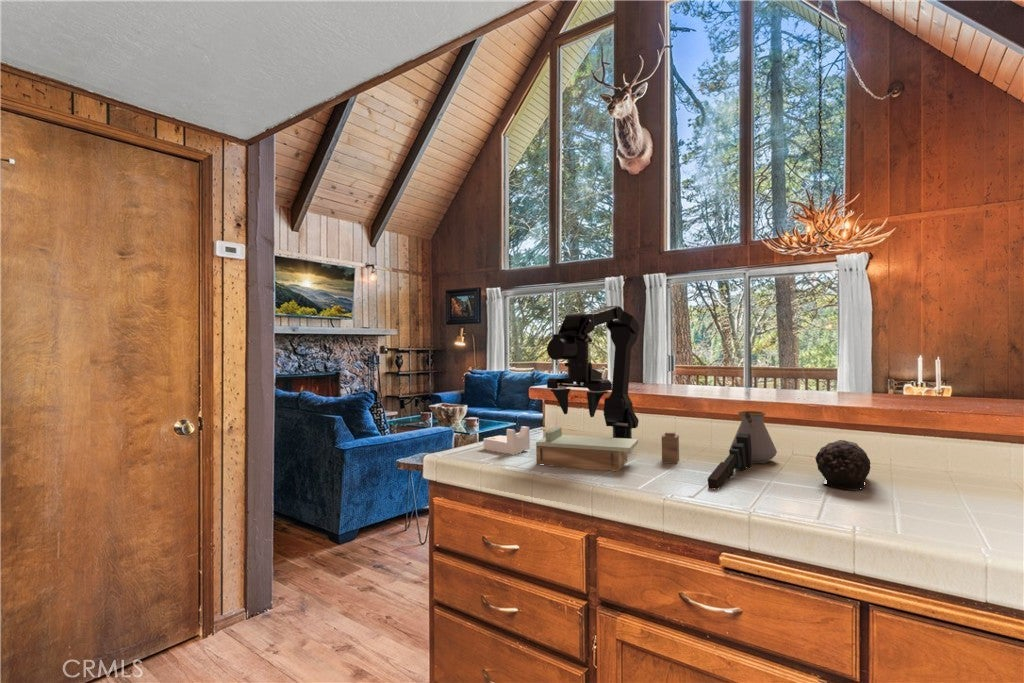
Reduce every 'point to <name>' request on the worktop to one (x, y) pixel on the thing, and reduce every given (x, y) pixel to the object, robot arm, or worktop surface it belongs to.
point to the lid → (586, 442)
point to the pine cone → (843, 464)
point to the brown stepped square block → (670, 447)
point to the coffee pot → (756, 436)
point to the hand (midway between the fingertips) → (578, 415)
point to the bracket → (509, 441)
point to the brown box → (581, 458)
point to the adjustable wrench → (732, 461)
